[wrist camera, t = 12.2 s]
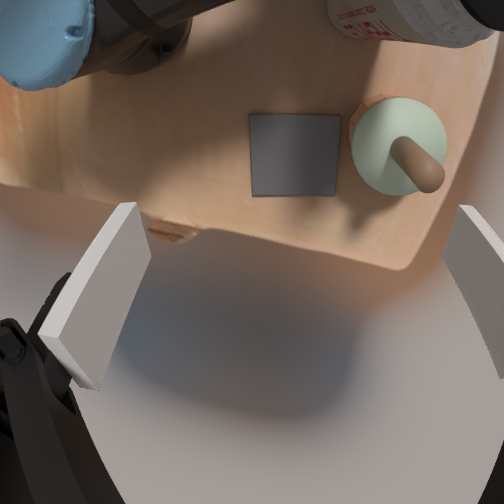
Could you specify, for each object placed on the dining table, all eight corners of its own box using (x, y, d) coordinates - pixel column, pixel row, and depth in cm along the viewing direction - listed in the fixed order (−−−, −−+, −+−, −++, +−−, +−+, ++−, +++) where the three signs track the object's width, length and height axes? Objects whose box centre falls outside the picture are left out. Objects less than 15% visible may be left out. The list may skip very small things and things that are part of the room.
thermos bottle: (357, 50, 32) (493, 87, 10) (313, 7, 29) (396, -47, 7) (398, 18, 29) (559, 27, 7) (355, -27, 26) (482, -92, 4)
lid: (346, 188, 40) (363, 229, 32) (354, 90, 32) (380, 108, 24) (431, 193, 39) (461, 231, 31) (448, 104, 31) (489, 127, 23)
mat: (252, 193, 46) (252, 195, 46) (249, 114, 39) (249, 115, 39) (333, 193, 46) (334, 195, 45) (339, 115, 38) (340, 116, 38)
